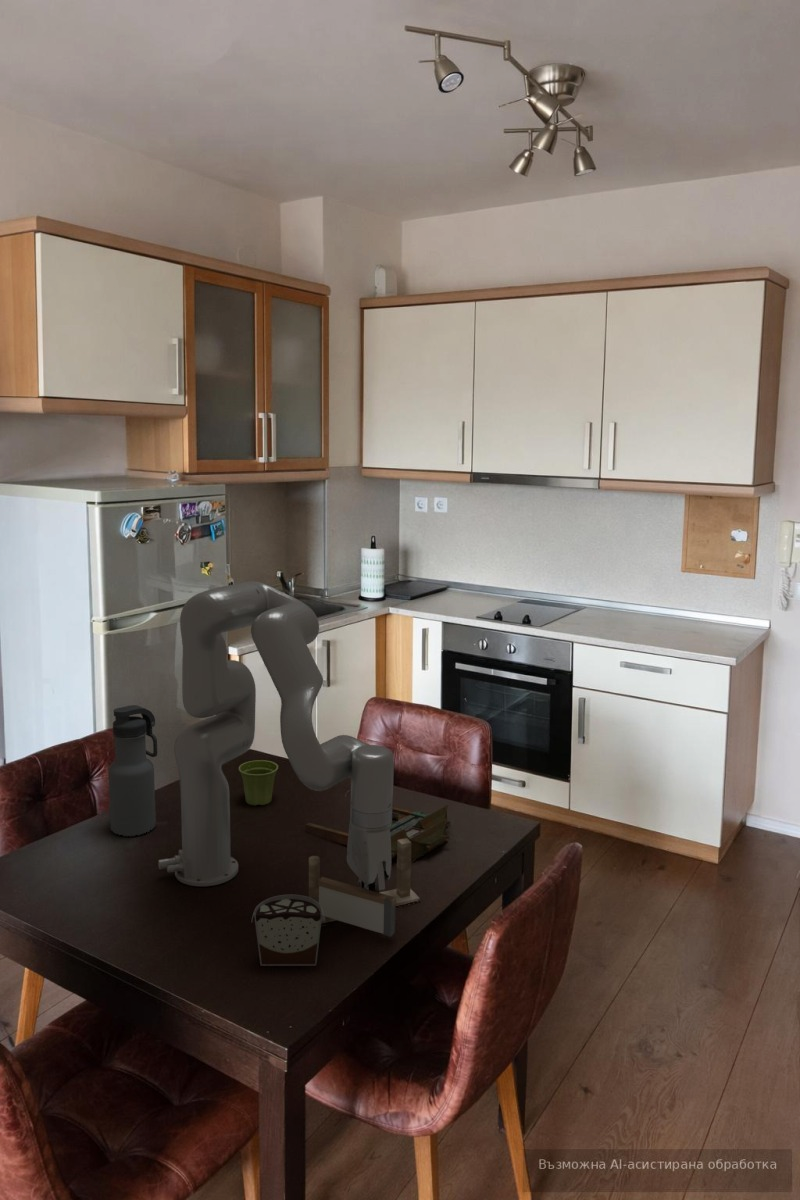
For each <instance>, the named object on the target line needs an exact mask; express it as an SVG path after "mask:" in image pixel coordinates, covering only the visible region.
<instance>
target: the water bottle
mask: <svg viewBox="0 0 800 1200" xmlns="http://www.w3.org/2000/svg"><path fill="white" fill-rule="evenodd" d="M139 714H141V716H142V717H140V716H135V715H139ZM113 716H114V719H115V720H114V721H113V722H112V736H113V738H114V754H115V755H114V757H115V759H114V761H113V762H112V763H110V765H109V767H108V770H107V773H108V775H107V777H108V778H107V780H108V799H109V800H108V801H109V819H110V820H109V821H110V822H109V823H110V824H109V825H110V830H111V831H113V832H114V833H113V832H112V833H113V834H115V833H116V834H115V835H117V834H119V835H118V836H120V835H123V836H122V837H128V836H129V837H136V836H135V835H138V836H141V834H142V835H144V834H143V833H145V834H147V833H149V832H151V831H152V830H153V829H154V828H155V827H156V823H157V818H156V791H155V784H156V783H155V768H154V763H153V762H152V761H151V760H150V759H148V758H147V756H149V757H151V758H155V757H158V738H157V737H156V735H155V734H153V727H155V726H156V718H155V716H154V714H153V713H152V711H150V710H149V709H147V708H145V707H143V706H140V705H137V704H136V705H135V704H133V705H127V706H126V705H125V706H122V707H116V708H114V709H113ZM146 736H148V737H150V738H151V740H152V747H153V748H152V749H153V752H151V751H149V750H147V749H146V748H147V746H146ZM150 830H151V831H150ZM146 832H147V833H146Z"/></svg>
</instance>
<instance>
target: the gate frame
mask: <svg viewBox="0 0 800 1200" xmlns="http://www.w3.org/2000/svg"><path fill="white" fill-rule="evenodd" d="M320 860H321V857H320V856H319V855H318V856H317V855H311V856H309V857H308V897H310V898H312V899H314V900H316V901H317V902H318V903H319V886H317V880H319V879H320V878H321V875H320V873H321V861H320ZM411 871H412V863H411V842H410V841H409V840H408V839H407V838H405V839H400V840H397V856H396V887H395V888H394V889H389V890H384V891H380V892H379V893H382V894H386V895H389V896H393V897H396V904H395V906H399V905H403V904H407V903H410V902H414V901H418V900H420V899H421V898H420V897H419V896H418V895H417V894H416V892H415V891H413V890H412V888H411V875H412V872H411ZM399 907H400V906H399ZM324 917H325V916H324ZM335 921H337V920H335V919H332V918H329V917H325V923H324V919H323V916H322V920H321V925H322V924H326V923H330V922H335Z"/></svg>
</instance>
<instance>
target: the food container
mask: <svg viewBox="0 0 800 1200" xmlns="http://www.w3.org/2000/svg"><path fill="white" fill-rule="evenodd" d="M322 916H323V919H324V923H323V924H326V923H325V917H324V912H323V909H322V908H321V905H320V904H319V903H318V902H317V901H316V900H314V899H312V898H310V897H309V896H306V895H302V894H281V895H280V894H279V895H275V896H272V897H269V898H267V899H264V900H263V901H261V902H260V903H259V904H258V905H256V906H255V908H254V911H253V914H252V917H251V922H250V923H253V921H254V924H255V934H256V939H257V948H258V956H259V964H260V966H262V967H263V966H264V967H267V966H268V967H277V966H279V967H283V966H284V967H286V966H287V967H289V966H290V967H292V966H293V967H297V966H298V967H299V966H300V967H301V966H302V967H305V966H306V967H307V966H308V967H309V966H310V967H313V966H315V967H316V966H317V962H318V954H319V944H320V936H321V927H322V924H321V920H322Z"/></svg>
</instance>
